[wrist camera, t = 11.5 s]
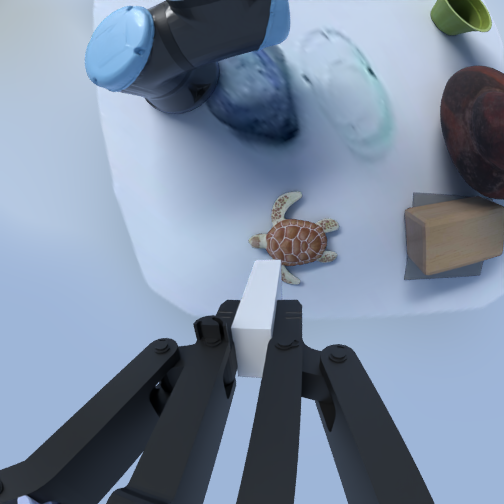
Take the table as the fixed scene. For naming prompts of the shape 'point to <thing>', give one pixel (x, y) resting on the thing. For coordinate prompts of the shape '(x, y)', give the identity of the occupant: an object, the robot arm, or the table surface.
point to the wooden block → (454, 233)
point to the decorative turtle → (295, 238)
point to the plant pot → (461, 16)
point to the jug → (476, 127)
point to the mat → (467, 270)
